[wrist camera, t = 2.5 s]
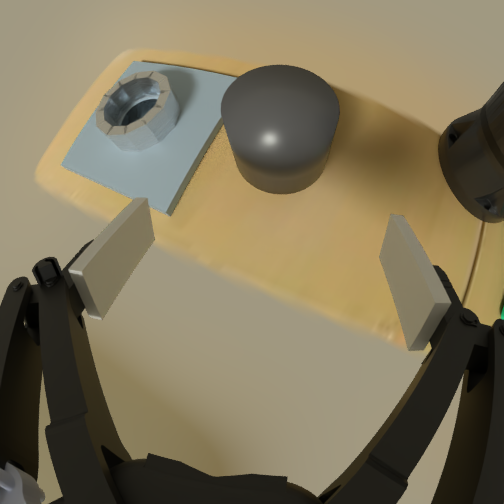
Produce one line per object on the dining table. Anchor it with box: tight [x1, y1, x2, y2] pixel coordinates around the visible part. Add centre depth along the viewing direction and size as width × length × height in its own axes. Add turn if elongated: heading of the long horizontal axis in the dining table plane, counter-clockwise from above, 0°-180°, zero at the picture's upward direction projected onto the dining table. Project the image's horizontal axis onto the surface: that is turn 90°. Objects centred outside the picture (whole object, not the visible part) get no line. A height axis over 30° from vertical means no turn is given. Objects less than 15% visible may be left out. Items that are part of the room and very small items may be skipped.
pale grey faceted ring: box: [96, 71, 181, 152], centre depth 32 cm, size 10×10×4 cm
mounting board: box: [61, 61, 237, 216], centre depth 34 cm, size 20×20×2 cm
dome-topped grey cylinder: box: [221, 65, 340, 194], centre depth 26 cm, size 9×9×12 cm
